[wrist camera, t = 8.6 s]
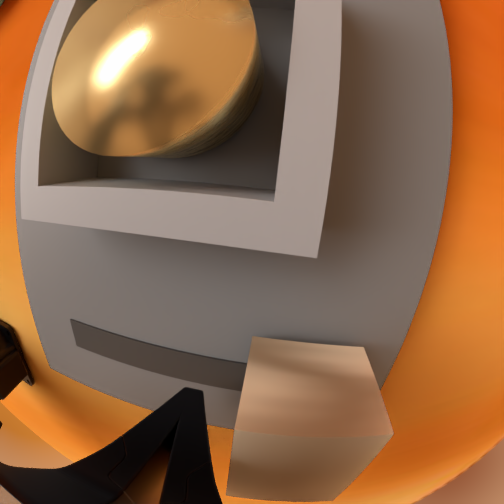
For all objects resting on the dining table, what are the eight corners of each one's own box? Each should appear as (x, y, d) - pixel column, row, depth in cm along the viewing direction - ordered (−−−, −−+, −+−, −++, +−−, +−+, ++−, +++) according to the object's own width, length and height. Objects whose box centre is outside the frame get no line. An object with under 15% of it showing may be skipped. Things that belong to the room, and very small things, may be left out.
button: (104, 157, 8) (40, 160, 5) (127, 27, 6) (80, -6, 3) (254, 164, 7) (237, 160, 5) (272, 15, 6) (265, -42, 3)
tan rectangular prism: (240, 421, 11) (225, 495, 7) (252, 335, 9) (234, 429, 5) (326, 428, 10) (332, 500, 6) (363, 347, 9) (394, 433, 5)
